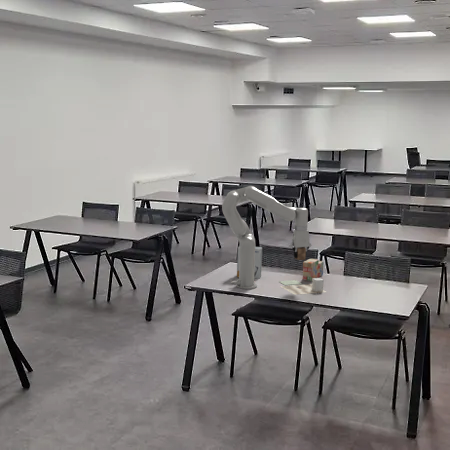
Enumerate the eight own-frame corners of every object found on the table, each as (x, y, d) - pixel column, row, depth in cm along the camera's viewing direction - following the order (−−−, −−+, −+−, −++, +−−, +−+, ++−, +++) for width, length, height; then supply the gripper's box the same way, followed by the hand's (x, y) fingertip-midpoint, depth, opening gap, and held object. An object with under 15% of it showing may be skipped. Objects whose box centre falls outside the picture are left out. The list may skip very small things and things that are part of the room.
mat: (284, 285, 385) (284, 284, 385) (278, 282, 393) (278, 281, 393) (302, 284, 389) (302, 283, 389) (295, 280, 397) (295, 280, 397)
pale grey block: (315, 291, 371) (316, 280, 370) (311, 289, 376) (312, 278, 374) (323, 291, 373) (323, 279, 372) (319, 289, 377) (319, 277, 376)
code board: (294, 295, 363) (294, 294, 363) (280, 286, 382) (280, 286, 382) (327, 292, 371) (327, 292, 371) (311, 284, 389) (311, 283, 389)
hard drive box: (236, 277, 404) (236, 247, 401) (238, 274, 411) (239, 245, 408) (259, 279, 401) (260, 249, 397) (261, 276, 408) (262, 246, 405)
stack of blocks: (314, 273, 418) (315, 256, 416) (323, 275, 415) (323, 257, 413) (302, 280, 400) (303, 261, 398) (311, 281, 397) (312, 262, 395)
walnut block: (298, 260, 374) (298, 248, 373) (294, 258, 378) (294, 247, 377) (305, 259, 375) (305, 248, 374) (301, 257, 380) (302, 246, 379)
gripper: (291, 229, 368) (289, 259, 370) (316, 228, 373) (315, 258, 376) (285, 227, 375) (284, 257, 377) (310, 226, 380) (309, 255, 383)
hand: (299, 257), depth 377 cm, fingers closed on walnut block, 5 cm apart
